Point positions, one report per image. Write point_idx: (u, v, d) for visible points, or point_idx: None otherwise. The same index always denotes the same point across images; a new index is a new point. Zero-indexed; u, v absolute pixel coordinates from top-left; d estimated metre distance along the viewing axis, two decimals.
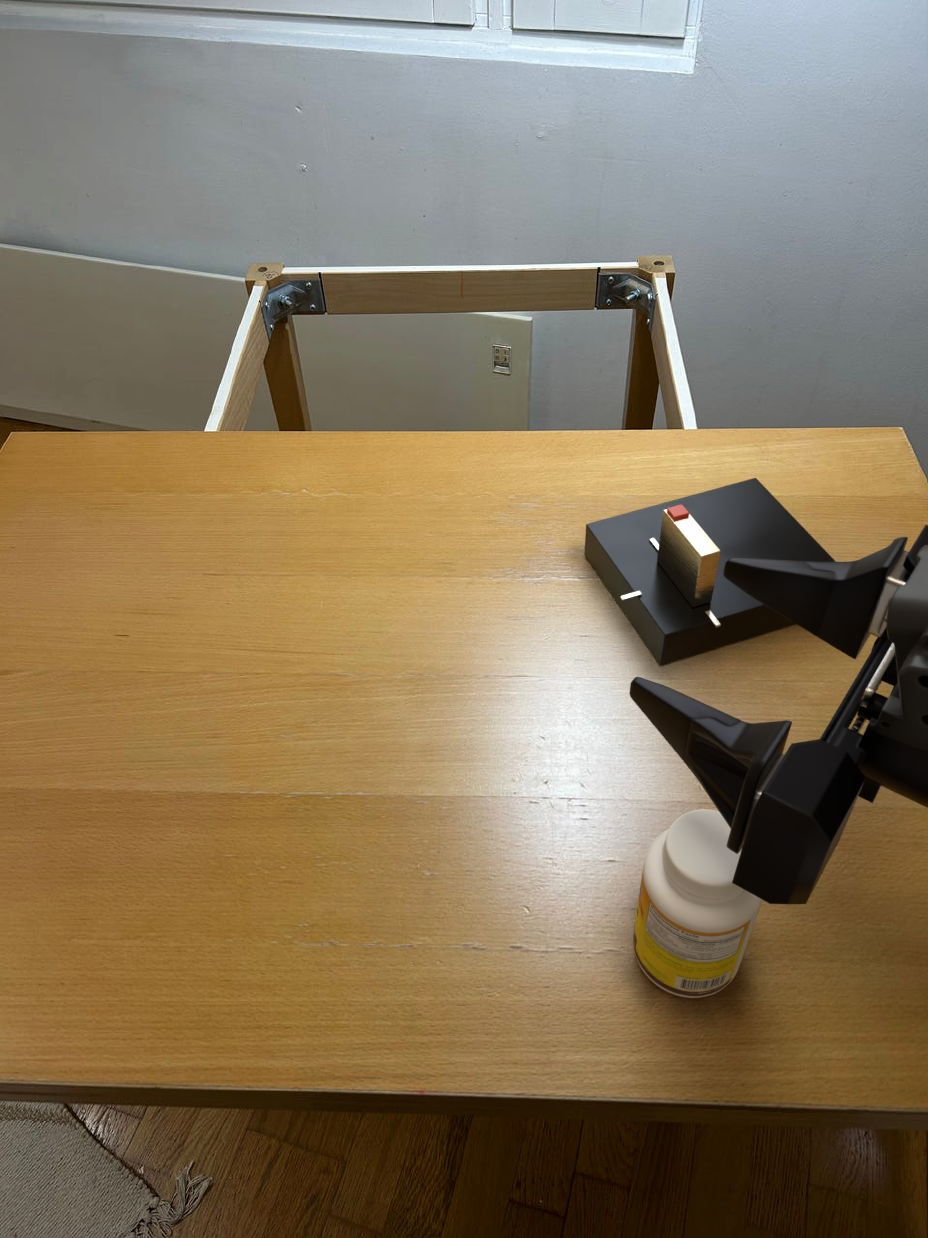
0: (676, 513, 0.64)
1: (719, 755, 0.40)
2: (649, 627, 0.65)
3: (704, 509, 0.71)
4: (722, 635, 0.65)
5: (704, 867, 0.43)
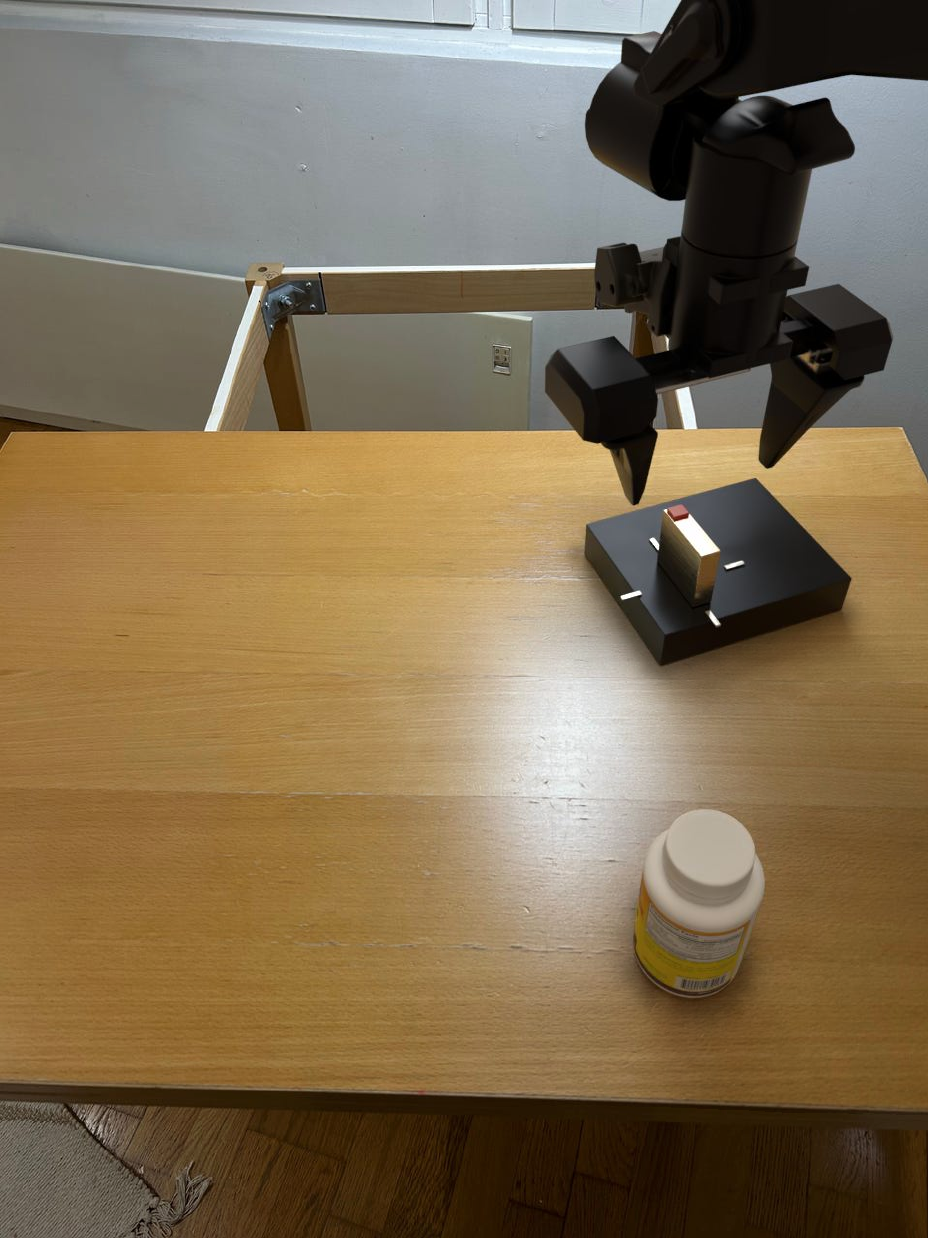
0: (676, 513, 0.64)
1: None
2: (649, 627, 0.65)
3: (704, 509, 0.71)
4: (722, 635, 0.65)
5: (704, 867, 0.43)
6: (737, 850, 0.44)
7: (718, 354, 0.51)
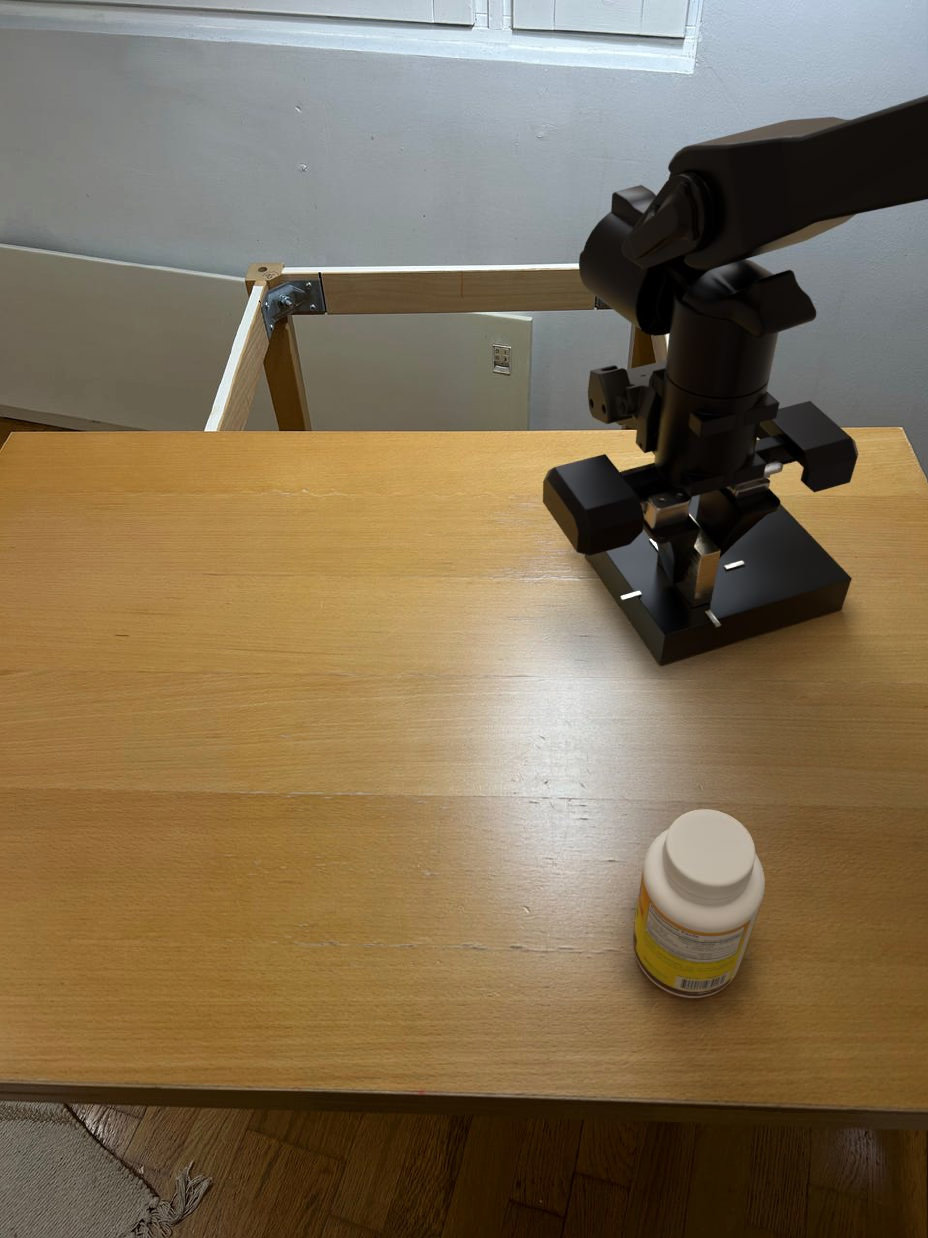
0: None
1: None
2: (649, 627, 0.65)
3: None
4: (722, 635, 0.65)
5: (704, 867, 0.43)
6: (737, 850, 0.44)
7: (698, 476, 0.56)
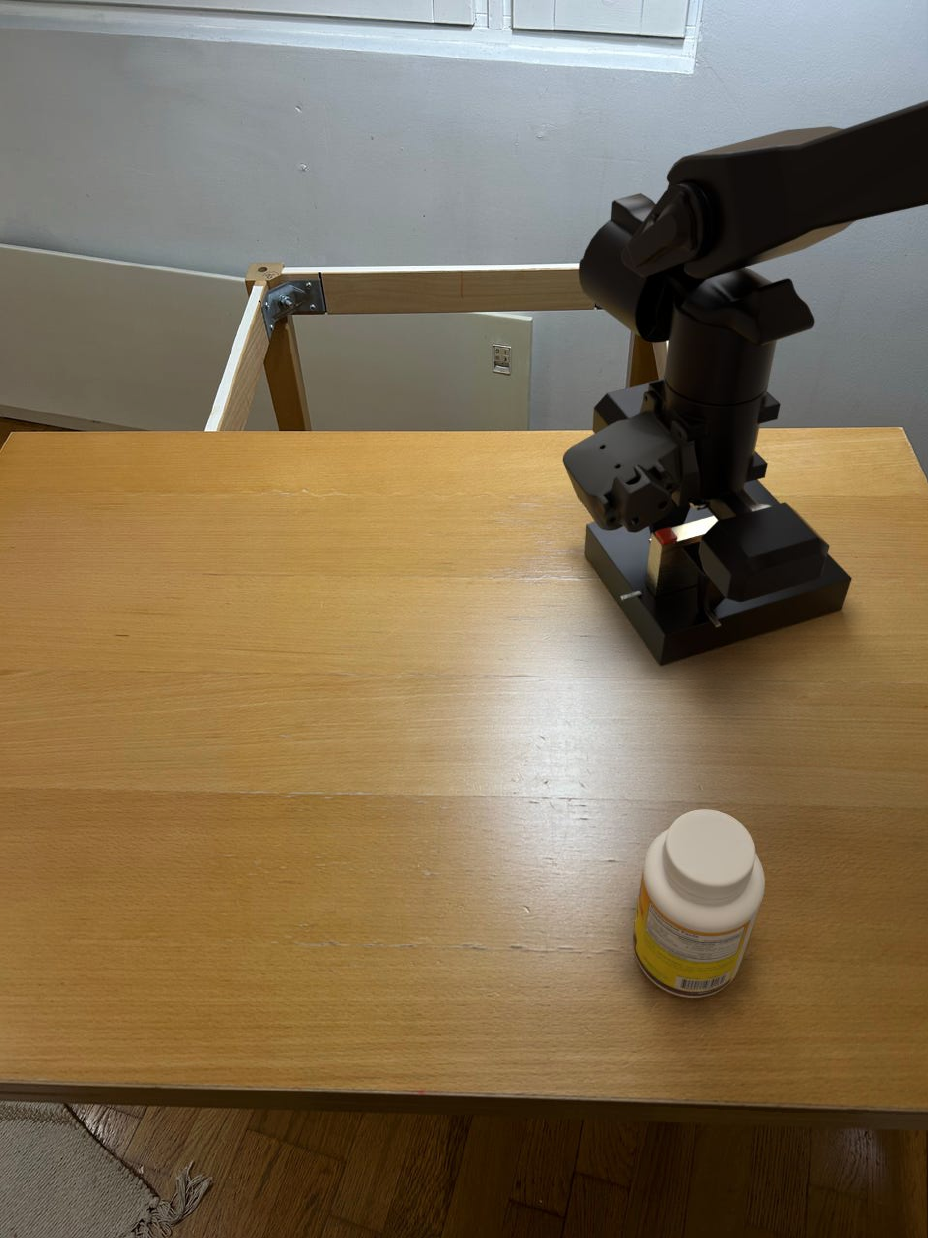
0: (671, 535, 0.62)
1: None
2: (649, 627, 0.65)
3: (704, 509, 0.71)
4: (722, 635, 0.65)
5: (704, 867, 0.43)
6: (737, 850, 0.44)
7: (756, 458, 0.58)
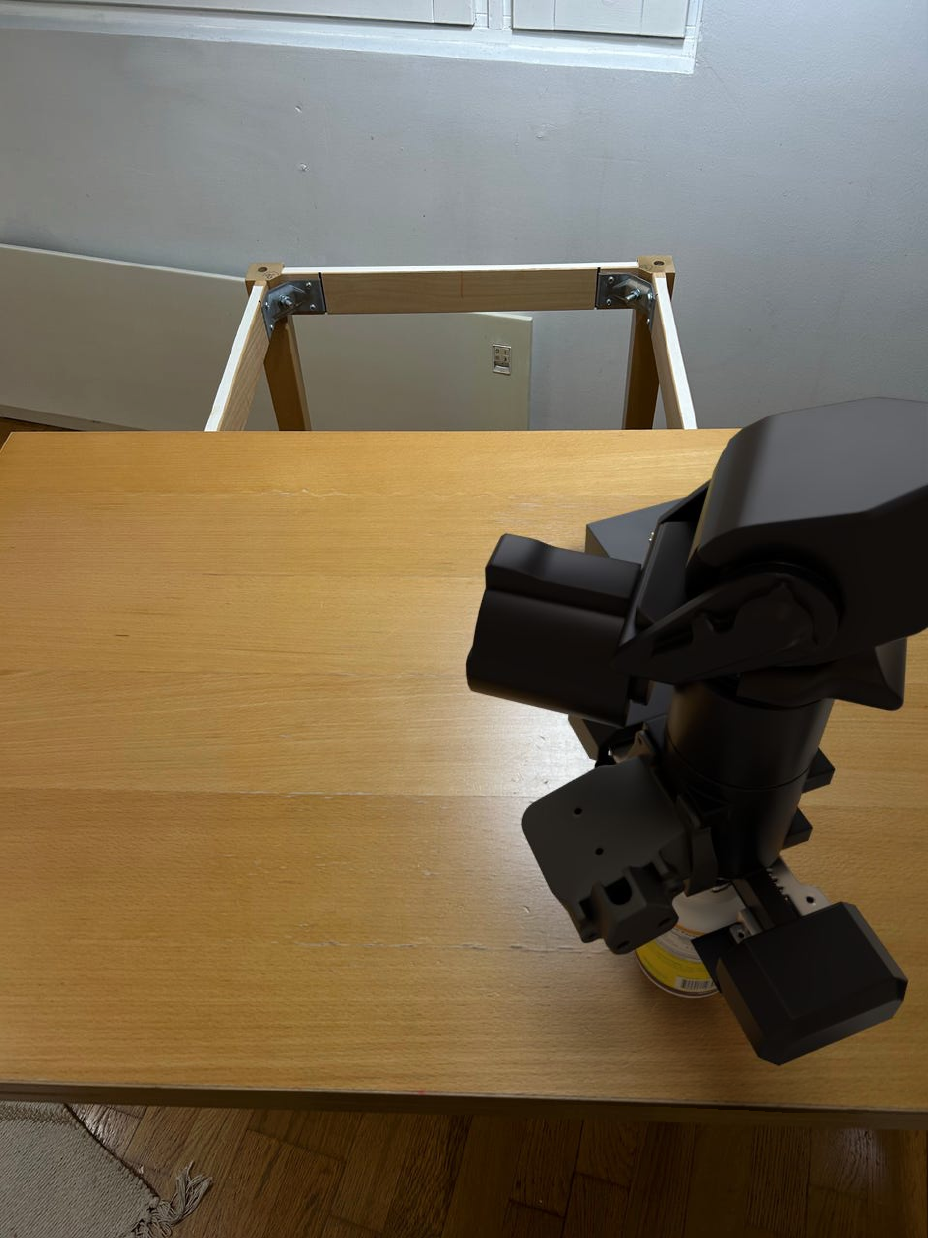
0: None
1: None
2: None
3: None
4: None
5: None
6: None
7: (796, 818, 0.41)
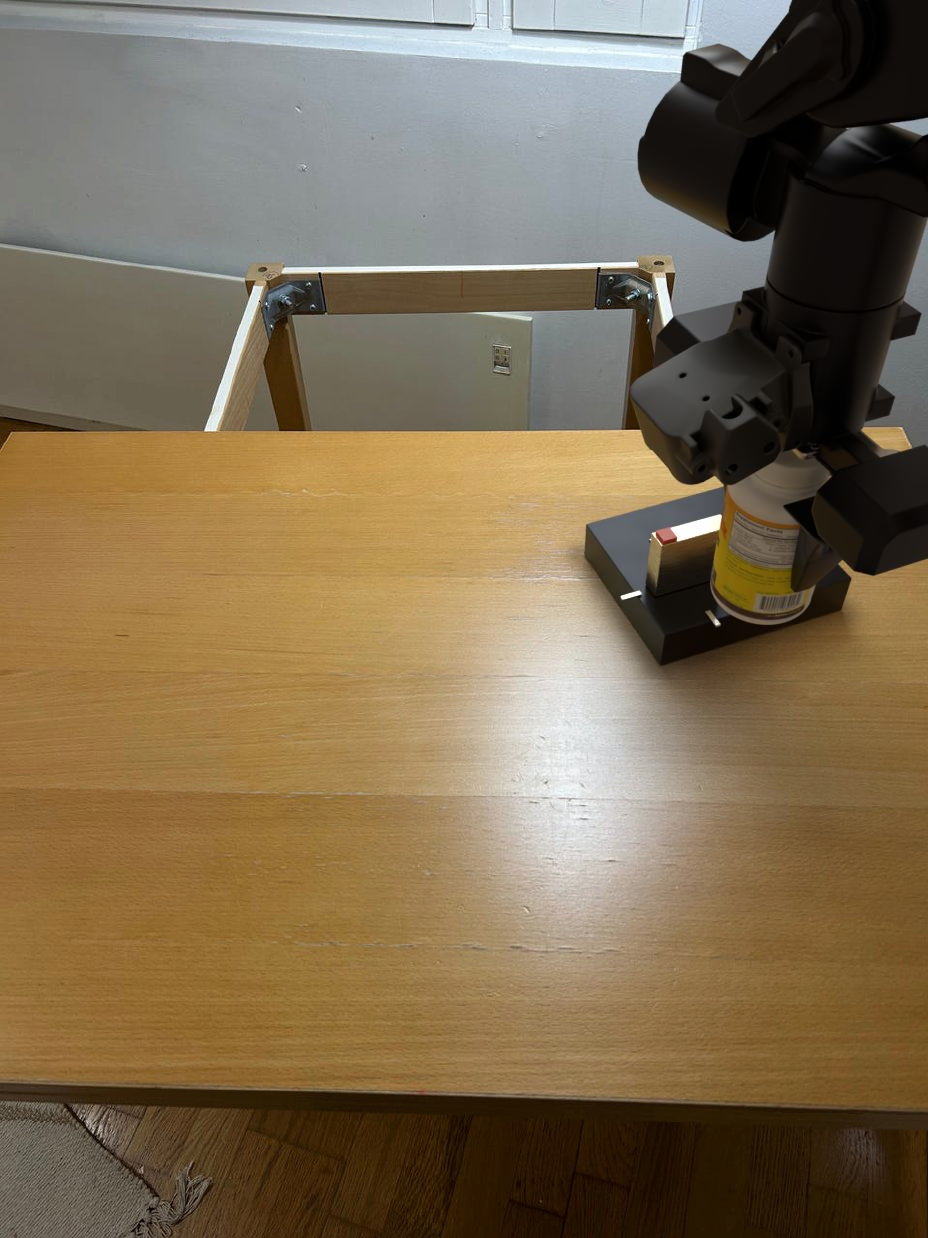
0: (671, 535, 0.62)
1: None
2: (649, 627, 0.65)
3: (704, 509, 0.71)
4: (722, 635, 0.65)
5: (790, 457, 0.47)
6: None
7: (879, 391, 0.45)
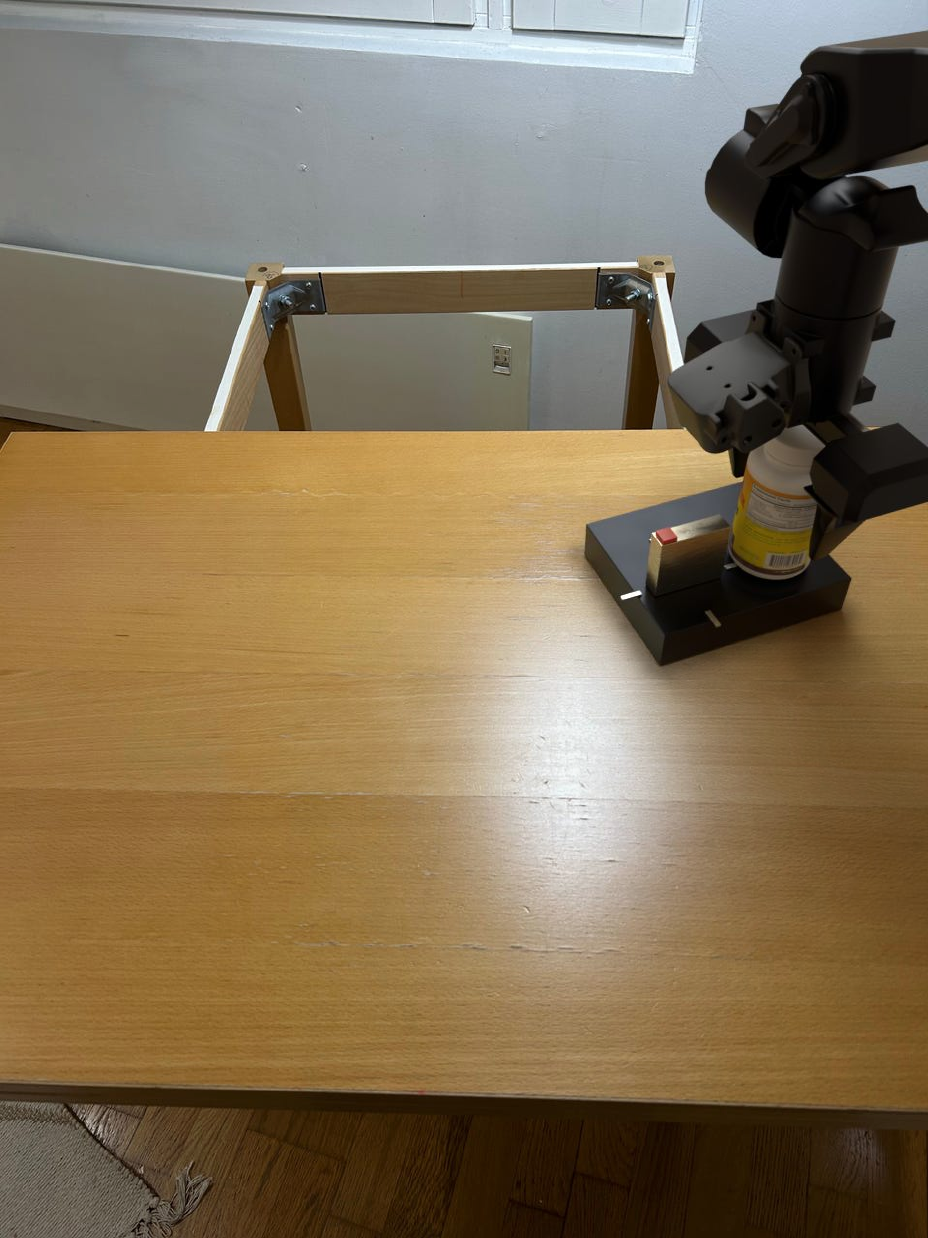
0: (671, 535, 0.62)
1: None
2: (649, 627, 0.65)
3: (704, 509, 0.71)
4: (722, 635, 0.65)
5: (798, 441, 0.59)
6: None
7: (864, 381, 0.57)
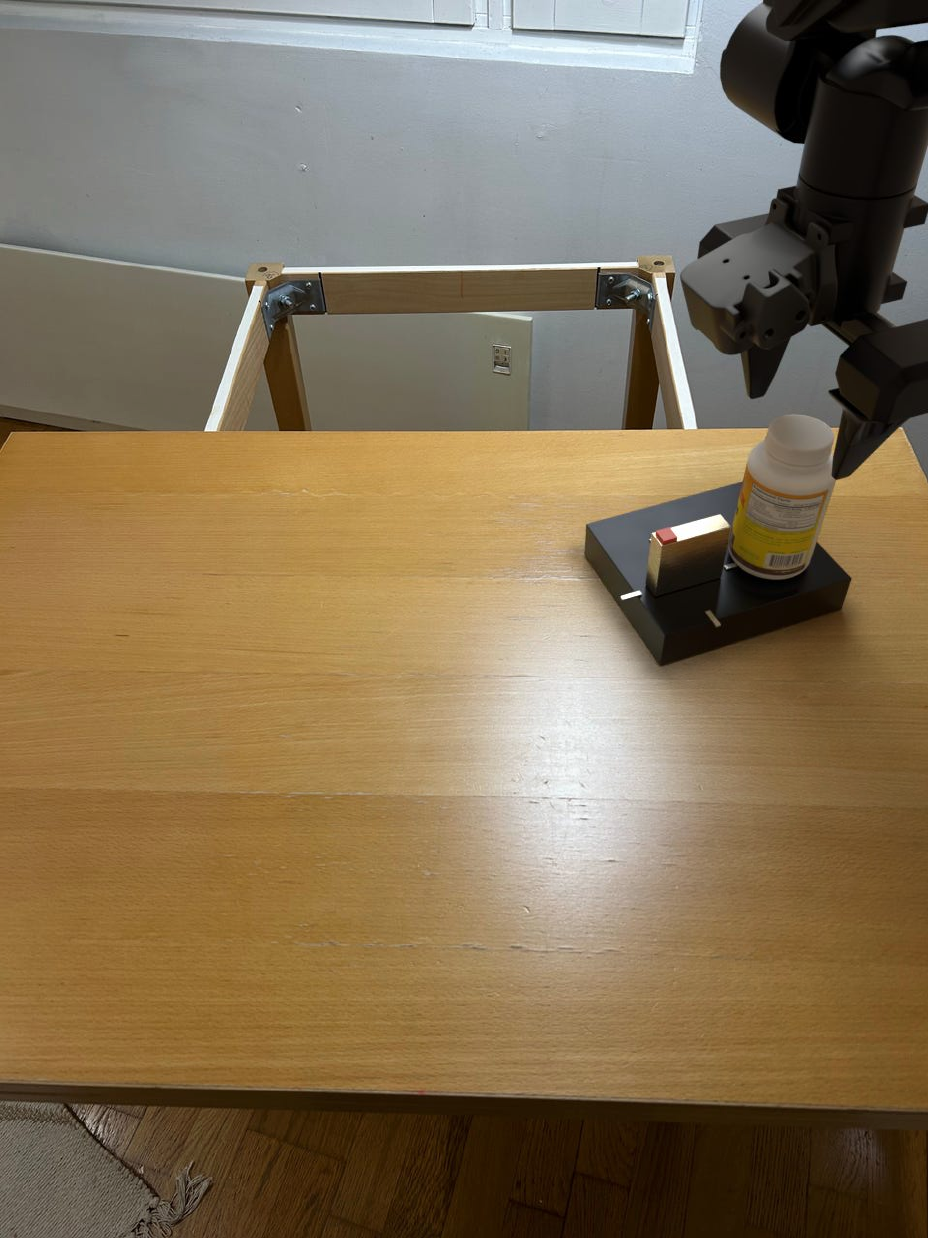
0: (671, 535, 0.62)
1: None
2: (649, 627, 0.65)
3: (704, 509, 0.71)
4: (722, 635, 0.65)
5: (798, 441, 0.59)
6: (821, 433, 0.60)
7: (894, 277, 0.52)
